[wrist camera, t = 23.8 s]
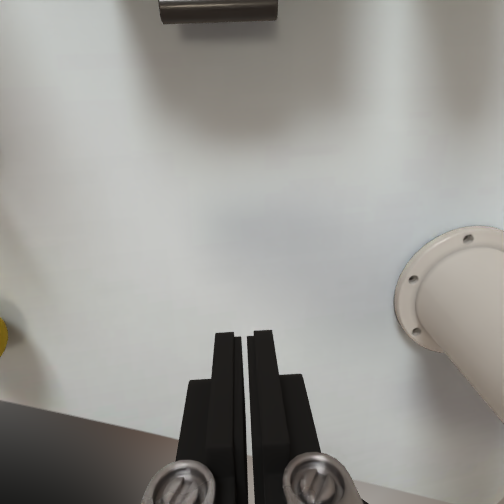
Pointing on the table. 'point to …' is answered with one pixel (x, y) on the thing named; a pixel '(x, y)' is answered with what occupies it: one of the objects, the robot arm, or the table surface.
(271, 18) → the drawer
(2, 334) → the lemon
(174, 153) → the table surface
